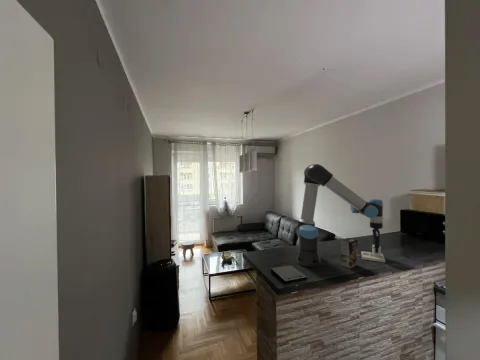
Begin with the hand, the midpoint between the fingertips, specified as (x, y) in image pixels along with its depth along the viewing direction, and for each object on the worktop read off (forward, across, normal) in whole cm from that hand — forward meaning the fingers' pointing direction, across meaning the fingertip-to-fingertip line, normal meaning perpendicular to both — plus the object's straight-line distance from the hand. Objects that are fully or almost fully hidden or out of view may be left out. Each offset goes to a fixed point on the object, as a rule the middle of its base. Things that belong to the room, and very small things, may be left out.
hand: (376, 255), depth 151 cm
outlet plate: (+1, -1, +2) cm, 3 cm away
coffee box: (+2, -21, +17) cm, 27 cm away
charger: (+1, 0, 0) cm, 1 cm away
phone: (+2, +2, +14) cm, 14 cm away
